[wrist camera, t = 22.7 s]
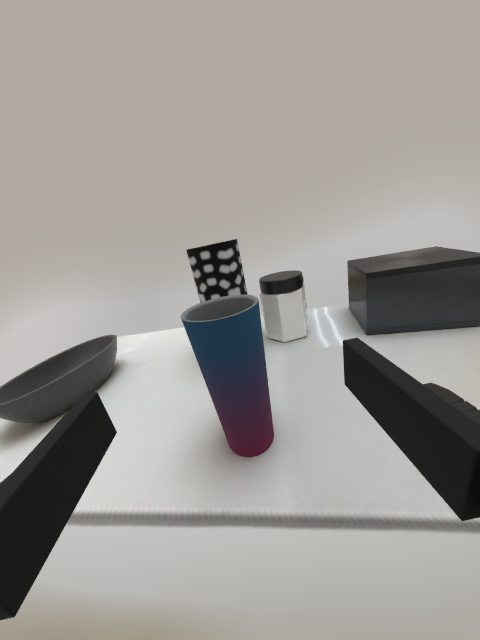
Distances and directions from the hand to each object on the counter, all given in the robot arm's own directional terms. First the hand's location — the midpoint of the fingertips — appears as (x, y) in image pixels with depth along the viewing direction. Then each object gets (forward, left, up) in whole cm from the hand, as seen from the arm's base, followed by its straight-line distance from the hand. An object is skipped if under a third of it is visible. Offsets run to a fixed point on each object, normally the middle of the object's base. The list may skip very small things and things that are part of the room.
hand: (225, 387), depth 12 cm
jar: (+19, -28, -13) cm, 37 cm away
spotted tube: (+23, -17, -13) cm, 32 cm away
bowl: (+39, +7, -13) cm, 42 cm away
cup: (+7, -5, -13) cm, 16 cm away
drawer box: (+3, -43, -13) cm, 45 cm away
